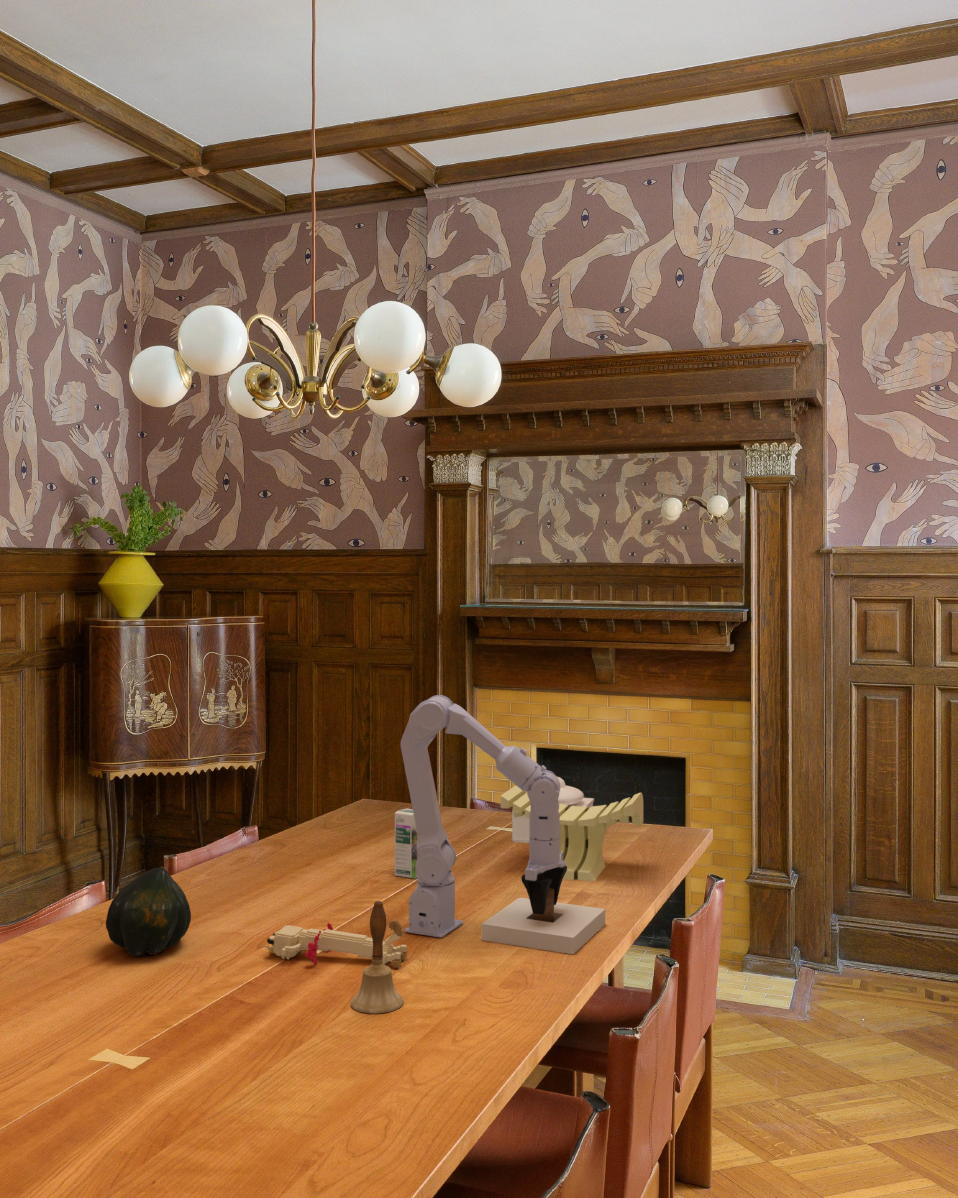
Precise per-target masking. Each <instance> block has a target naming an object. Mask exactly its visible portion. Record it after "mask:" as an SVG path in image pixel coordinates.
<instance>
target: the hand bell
mask: <svg viewBox="0 0 958 1198" xmlns="http://www.w3.org/2000/svg"><path fill="white" fill-rule="evenodd" d="M385 911H386V910H385V908H384V903H383V901H380V900H376V901H374V904H373V908H372V910H371V913H370V916H369V917H370V918H369V932H370V935H371V938H372V940H373V952H372V954H373V955H372V959H371V964H370V965H368V966H366V967H365V968H364V969H363V971H362V977H361V984H360V987H359V989H358V992H357V993H356V994H355V995H354V996H353V997H352V998H351V1001H350V1006H351V1008H353V1010H355V1011H358V1012H360V1013H363V1014H364V1013H365V1014H376V1015H377V1014H385V1013H390V1012H395V1011H396V1010H399V1009H400V1008H401V1007H402V1006H403V1005H404V1003H405V1001H404V999H403V997H402V995H401V994H400V993H399V992H398V991H397V989H396V988H395V985H394V981H393V973H392V969H391V967H389V966H388V965H387V964H383V959H382V958H383V955H382V954H383V941H384V938H385V935H386V930H387V915H386V912H385Z"/></svg>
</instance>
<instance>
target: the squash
mask: <svg viewBox="0 0 958 1198" xmlns="http://www.w3.org/2000/svg"><path fill="white" fill-rule="evenodd" d="M191 921H192V911H191V907H190V904H189V901H188V899H187V896H186V894H185V893H184V891H183V889H182V888H181V886H180V885H179V884H178V883H177V881H175V880H174V878H173V877H172V876H171V874H170V873H169V872H168V871H167V869H165V867H164V866H159V867H154V868H151V869H150V870H147V871H146V872H144V873H142V874H140V875H139V876H137V877H136V878H135V879H133V880H132V881H130V882H129V883H128V884H127V885H125V886H124V887H123V888H121V890H119V891H118V893H117V894H116V895H115V896H114V897H113V899H112V901H111V902H110V905H109V907H108V909H107V915H106V920H105V929H106V931H107V933H108V938H109V939H110V941H111V942H112V943H113V944H114V945H116V946H118V947H120V948H122V949H125V950H126V951H127V952H128V954H129V955H130V956H133V957H137V958H140V957H142V956H144V955H146V953H148V954H151V955H157V954H159V953H161V952H162V951H164V949H166V948H171V947H173V946H174V947H175V945H177V944H178V943H179V942H180V941H181V939H182V938H183V937H184V936H185V935H186V933H187V932H188V930H189V927H190V924H191Z"/></svg>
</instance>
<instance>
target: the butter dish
mask: <svg viewBox="0 0 958 1198" xmlns="http://www.w3.org/2000/svg"><path fill="white" fill-rule="evenodd" d="M556 777H557V778H558V779H559V782H560V792H559V798H558V803H560V804H565V805H568V807H571V806H581V807H588V808H590V807H591V806H594V802H595V798H594V797H593V798H591V797H585V795H584V792H583V791H581V790H580V789H579V788H578V787H577V788H576V787H574V786H570V785H566V782H565V780H564V779H562V778H561V777H559V776H556ZM511 811H512V813H511V815H512V816H511V817H512V820H511V825H512V826H511V827H512V828H511V829H512V831H511V832H512V833H511V835H512V838H511V840H512V843H521V844H522V843H525V844H529V842H530V840H529V837H530V826H529V818H525V814H524V815H523V816H521V817H515V818H514V813H513V809H512V810H511Z"/></svg>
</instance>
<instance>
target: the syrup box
mask: <svg viewBox="0 0 958 1198" xmlns="http://www.w3.org/2000/svg"><path fill="white" fill-rule="evenodd" d="M417 835H418V834H417V829H416V824H415V818H414V813H413V808H412V809H410V808H403V809H402V808H401V809H399V810H397V811H396V812H394V876H395V877H403V878H408V879H410V878H411V879H414V880H415V879H417V877H418V876H417V874H416V870H415V866H416V861H417V856H418V855H417V849H416V847H417Z"/></svg>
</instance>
